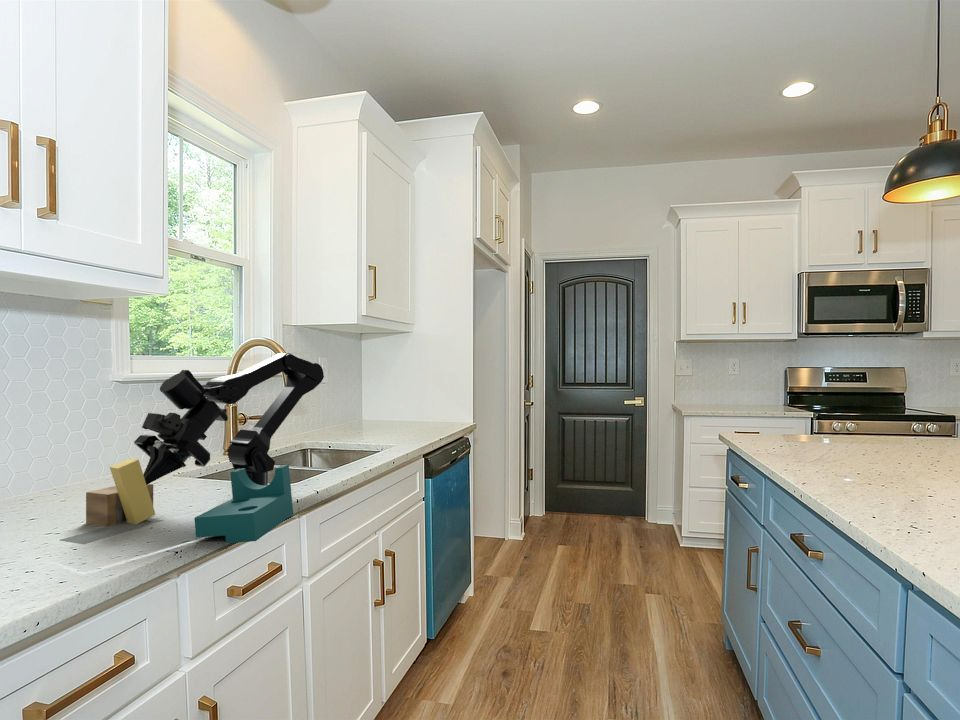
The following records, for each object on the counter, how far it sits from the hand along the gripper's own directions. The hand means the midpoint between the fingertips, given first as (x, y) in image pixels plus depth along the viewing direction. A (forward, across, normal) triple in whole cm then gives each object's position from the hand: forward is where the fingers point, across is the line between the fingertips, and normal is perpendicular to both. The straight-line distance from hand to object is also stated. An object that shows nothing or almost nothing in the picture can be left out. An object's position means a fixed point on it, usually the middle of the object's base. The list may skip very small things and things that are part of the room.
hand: (142, 483), depth 114 cm
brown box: (+6, -6, +5) cm, 10 cm away
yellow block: (+5, 0, +5) cm, 7 cm away
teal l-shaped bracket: (0, +21, +12) cm, 24 cm away
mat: (+10, +1, +1) cm, 10 cm away
